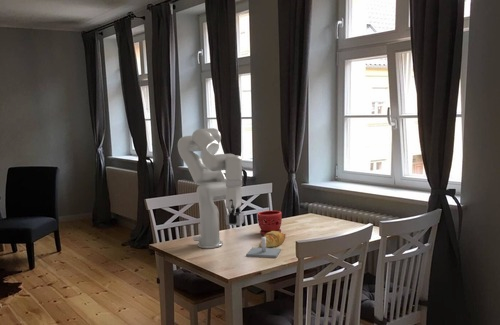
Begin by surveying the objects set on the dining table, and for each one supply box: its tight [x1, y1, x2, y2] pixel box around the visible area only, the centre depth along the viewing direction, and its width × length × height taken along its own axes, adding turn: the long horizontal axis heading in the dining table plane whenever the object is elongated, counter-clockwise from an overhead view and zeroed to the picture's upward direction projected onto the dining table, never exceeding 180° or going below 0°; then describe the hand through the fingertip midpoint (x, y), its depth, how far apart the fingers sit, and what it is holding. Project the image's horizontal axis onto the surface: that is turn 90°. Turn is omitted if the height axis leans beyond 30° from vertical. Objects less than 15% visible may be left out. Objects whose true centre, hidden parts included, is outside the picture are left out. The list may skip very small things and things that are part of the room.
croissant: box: [259, 231, 286, 248], centre depth 227 cm, size 21×10×8 cm, turn 144°
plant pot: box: [256, 210, 283, 237], centre depth 247 cm, size 13×13×12 cm
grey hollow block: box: [225, 211, 245, 226], centre depth 207 cm, size 6×6×4 cm
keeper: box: [245, 236, 282, 259], centre depth 212 cm, size 14×11×8 cm
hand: (235, 221), depth 207 cm, fingers closed on grey hollow block, 6 cm apart
